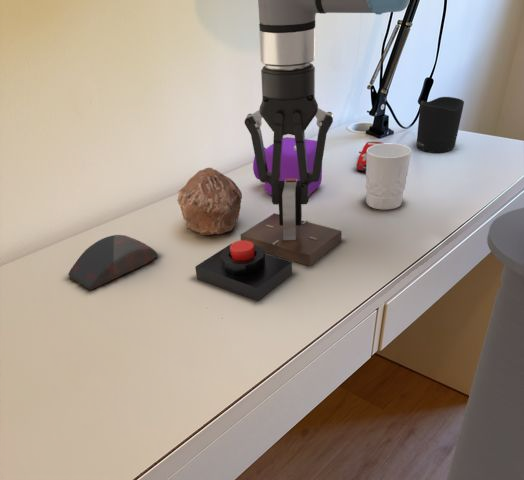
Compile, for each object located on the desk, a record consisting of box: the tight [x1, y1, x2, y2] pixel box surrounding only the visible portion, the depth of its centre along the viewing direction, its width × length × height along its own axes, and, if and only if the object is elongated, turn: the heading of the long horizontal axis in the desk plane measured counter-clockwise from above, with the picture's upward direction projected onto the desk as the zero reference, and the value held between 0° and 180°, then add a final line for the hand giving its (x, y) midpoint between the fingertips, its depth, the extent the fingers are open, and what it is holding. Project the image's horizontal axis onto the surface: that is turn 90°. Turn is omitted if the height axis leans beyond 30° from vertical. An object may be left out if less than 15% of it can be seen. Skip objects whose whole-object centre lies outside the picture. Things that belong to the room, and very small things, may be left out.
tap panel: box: [240, 212, 343, 267], centre depth 90 cm, size 14×10×2 cm
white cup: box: [365, 142, 412, 211], centre depth 98 cm, size 8×8×10 cm
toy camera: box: [252, 136, 323, 196], centre depth 106 cm, size 11×14×10 cm
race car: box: [356, 141, 384, 172], centre depth 117 cm, size 13×5×4 cm, turn 162°
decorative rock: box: [177, 167, 243, 236], centre depth 94 cm, size 13×11×10 cm
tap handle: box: [282, 178, 298, 240], centre depth 86 cm, size 6×2×8 cm, turn 174°
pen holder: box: [416, 96, 465, 154], centre depth 122 cm, size 9×9×10 cm
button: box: [230, 239, 255, 261], centre depth 80 cm, size 4×4×2 cm
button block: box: [194, 243, 293, 302], centre depth 81 cm, size 12×9×4 cm
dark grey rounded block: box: [67, 234, 158, 291], centre depth 85 cm, size 8×14×4 cm, turn 136°
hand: (290, 221), depth 88 cm, fingers closed on tap handle, 2 cm apart
